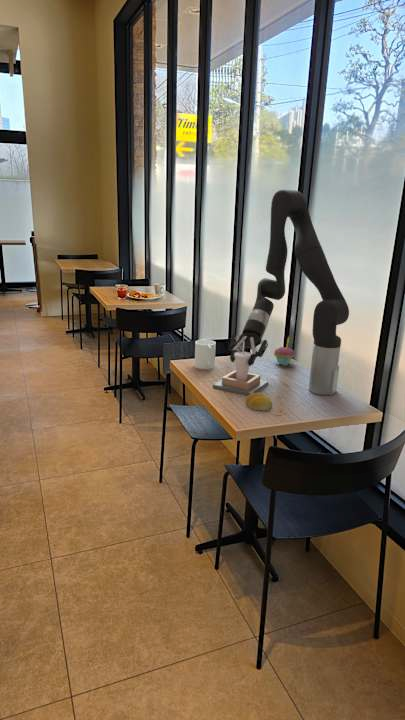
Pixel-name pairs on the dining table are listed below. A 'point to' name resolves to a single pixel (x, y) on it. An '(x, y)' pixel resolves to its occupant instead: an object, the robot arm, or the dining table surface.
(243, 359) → the smoothie
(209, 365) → the cup
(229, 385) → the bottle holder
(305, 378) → the dining table surface
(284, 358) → the cupcake
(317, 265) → the robot arm
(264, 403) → the bread roll
